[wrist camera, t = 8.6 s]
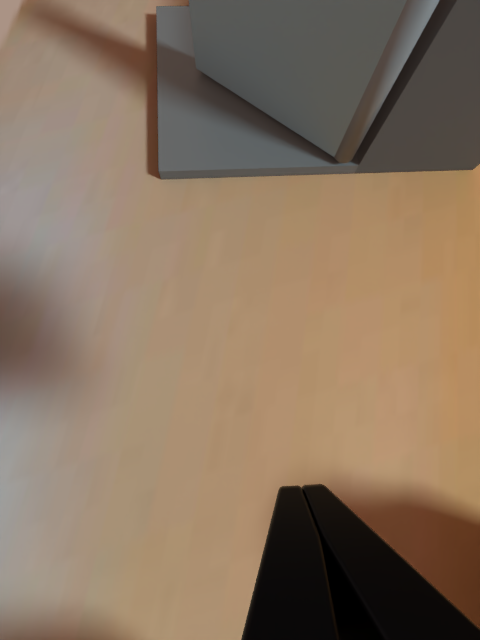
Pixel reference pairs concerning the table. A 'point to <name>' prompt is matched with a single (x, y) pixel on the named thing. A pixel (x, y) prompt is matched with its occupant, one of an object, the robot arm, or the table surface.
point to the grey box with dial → (297, 152)
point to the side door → (310, 59)
